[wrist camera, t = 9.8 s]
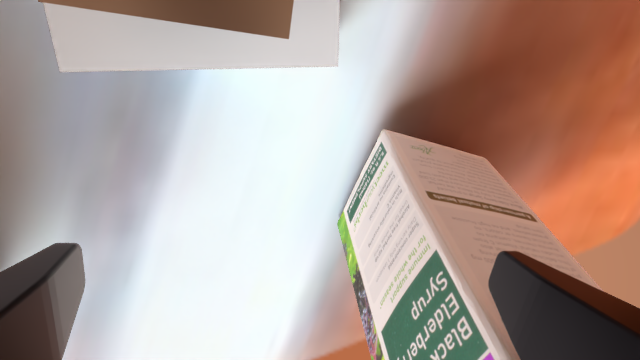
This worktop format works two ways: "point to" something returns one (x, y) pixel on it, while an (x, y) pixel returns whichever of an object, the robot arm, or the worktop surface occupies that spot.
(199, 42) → the base block
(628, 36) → the worktop surface
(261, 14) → the walnut cube
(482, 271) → the syrup box
